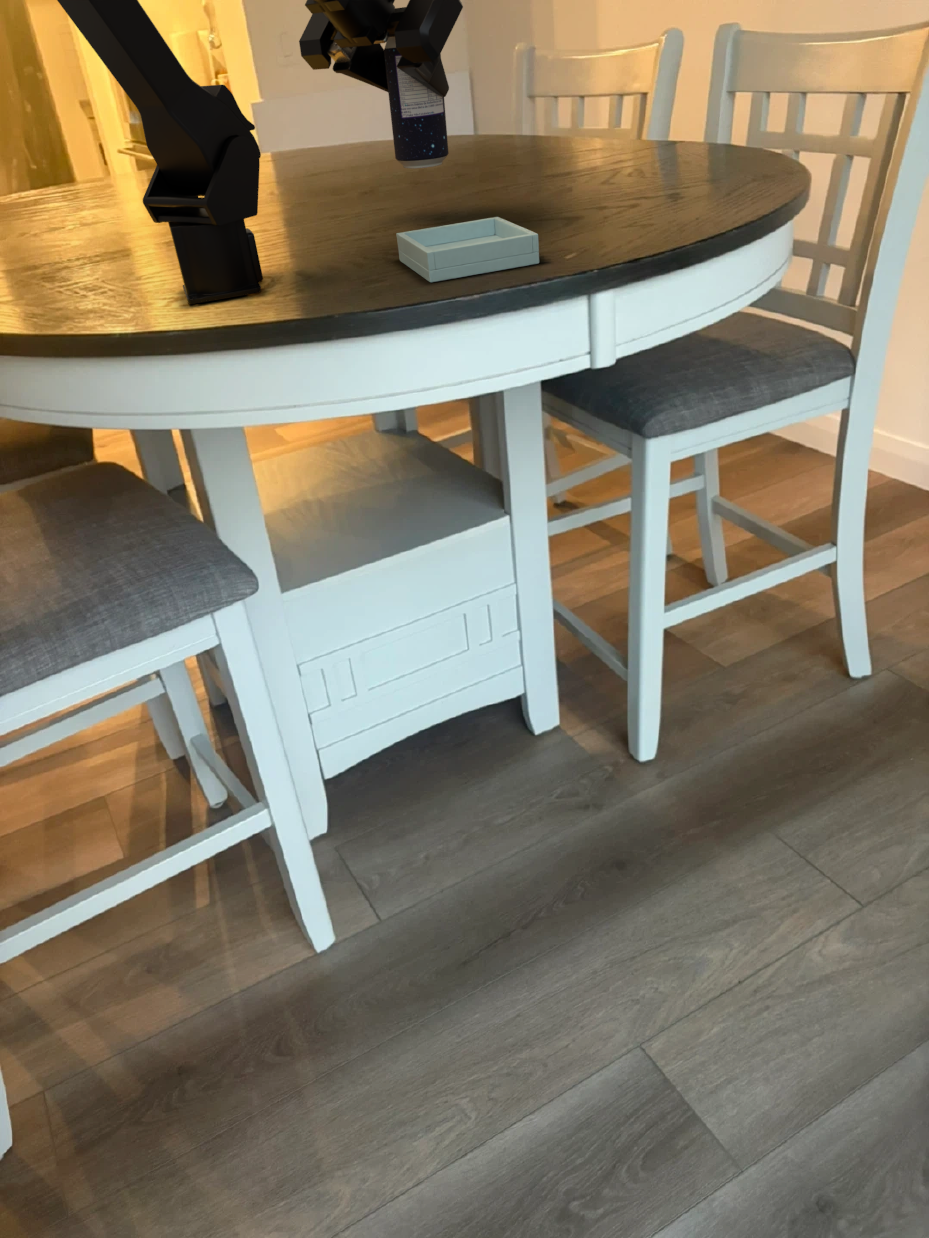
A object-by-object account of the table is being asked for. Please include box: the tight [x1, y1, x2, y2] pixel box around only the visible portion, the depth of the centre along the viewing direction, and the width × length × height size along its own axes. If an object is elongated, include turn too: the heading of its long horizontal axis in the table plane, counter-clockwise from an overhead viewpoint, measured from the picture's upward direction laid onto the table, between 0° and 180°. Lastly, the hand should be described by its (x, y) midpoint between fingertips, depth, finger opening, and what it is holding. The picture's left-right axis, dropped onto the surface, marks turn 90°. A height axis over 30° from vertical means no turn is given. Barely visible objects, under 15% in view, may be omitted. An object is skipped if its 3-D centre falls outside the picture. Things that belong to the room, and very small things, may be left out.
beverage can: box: [383, 37, 449, 169], centre depth 94 cm, size 6×6×12 cm
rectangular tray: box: [395, 216, 540, 284], centre depth 83 cm, size 10×10×2 cm
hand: (426, 94), depth 95 cm, fingers closed on beverage can, 5 cm apart
